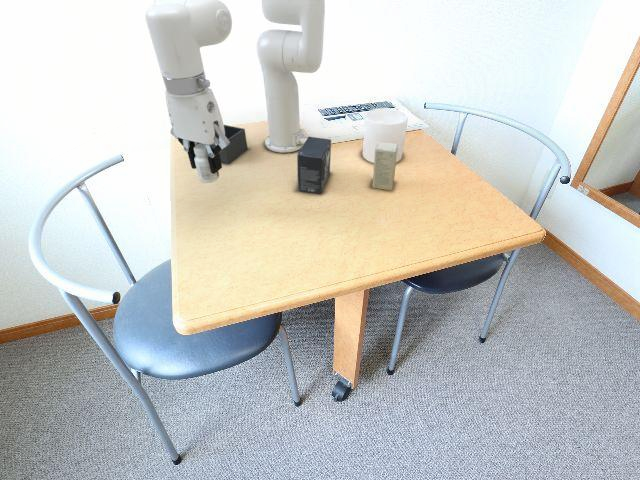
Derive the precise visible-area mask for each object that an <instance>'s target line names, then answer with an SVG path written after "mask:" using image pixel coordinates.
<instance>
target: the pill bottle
mask: <svg viewBox="0 0 640 480" xmlns="http://www.w3.org/2000/svg"><path fill="white" fill-rule="evenodd" d="M194 153H195V155H196V156H195V158H194V161H195V165H196V171H197V172H196V173H197V176H198V178H199V179H198V180H199V181H200V182H201V183H203V184H211V183H214V182H217V181H218V180H219V179H220V173H219V172H220V171H217V172H216V173H215V174H212V173H211V170H210V166H209V162H208V157H209V154H208V152H207V149H206V147H205V145H204V144H203V143H202V144H198V145H196V146H195V147H194Z"/></svg>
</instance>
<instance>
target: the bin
mask: <svg viewBox="0 0 640 480" xmlns="http://www.w3.org/2000/svg"><path fill="white" fill-rule="evenodd" d="M223 125H224V129H225V136H226V137H227V139H228V140H229V141H230V144H229V145H227V146H226V147H225V148H223V149H222V151H221V152H220V153H219V154H220V159H221V163H222V164H226V165H229V164H231V163H232V162H234V160H236V159H237V158H239V157H240V156H241V155H242V154H244V153H245V152H246V151H247V150H248V149H249V147H248V142H247V135H246V129H245V128H242V127H238V126H237V127H236V126H232V125H228V124H223ZM217 140H218V139H217ZM218 143H219V141H218ZM198 144H202V143H198V142H196V145H198ZM211 146H212V148H213V149H214V146H213V144H212V145H211Z"/></svg>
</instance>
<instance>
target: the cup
mask: <svg viewBox="0 0 640 480" xmlns="http://www.w3.org/2000/svg"><path fill="white" fill-rule="evenodd" d="M408 121H409V116H408V115H407V114H406V112H404V111H403V110H400V109H396V108H389V107H378V108H373V109H369V110H368V111H367V112H366V113H365V116H364V130H363V143H362V157H363V158H364V159H365V160H366V161H367V162H370V163H372V164H374V159H375V148H376V146H377V145H378V143H379V142H383V143H392V144H398V150H397V159H396V163H397V162H399V161H401V160H402V158H403V153H404V146H405V140H406V132H407V127H408Z"/></svg>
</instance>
